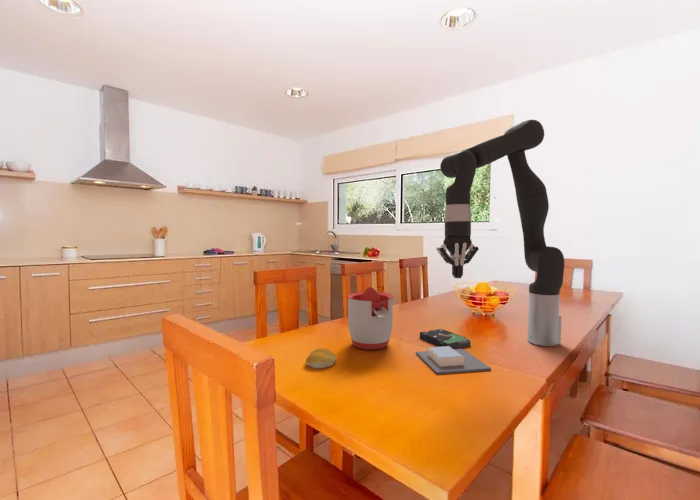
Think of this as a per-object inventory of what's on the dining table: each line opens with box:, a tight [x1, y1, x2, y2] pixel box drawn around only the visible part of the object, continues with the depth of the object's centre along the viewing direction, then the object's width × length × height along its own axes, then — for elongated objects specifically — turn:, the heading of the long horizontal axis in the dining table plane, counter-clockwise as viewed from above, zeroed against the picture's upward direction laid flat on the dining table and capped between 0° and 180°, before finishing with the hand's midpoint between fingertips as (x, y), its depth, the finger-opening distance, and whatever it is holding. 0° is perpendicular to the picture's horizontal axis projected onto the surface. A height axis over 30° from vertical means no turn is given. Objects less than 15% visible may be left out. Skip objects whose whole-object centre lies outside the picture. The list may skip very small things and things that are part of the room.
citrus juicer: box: [347, 286, 395, 351], centre depth 117 cm, size 16×17×20 cm
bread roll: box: [305, 347, 336, 369], centre depth 102 cm, size 8×9×4 cm
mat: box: [415, 348, 492, 375], centre depth 103 cm, size 16×16×1 cm
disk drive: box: [419, 328, 471, 349], centre depth 122 cm, size 10×3×15 cm
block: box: [427, 346, 464, 367], centre depth 103 cm, size 3×9×7 cm
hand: (457, 277), depth 105 cm, fingers closed
